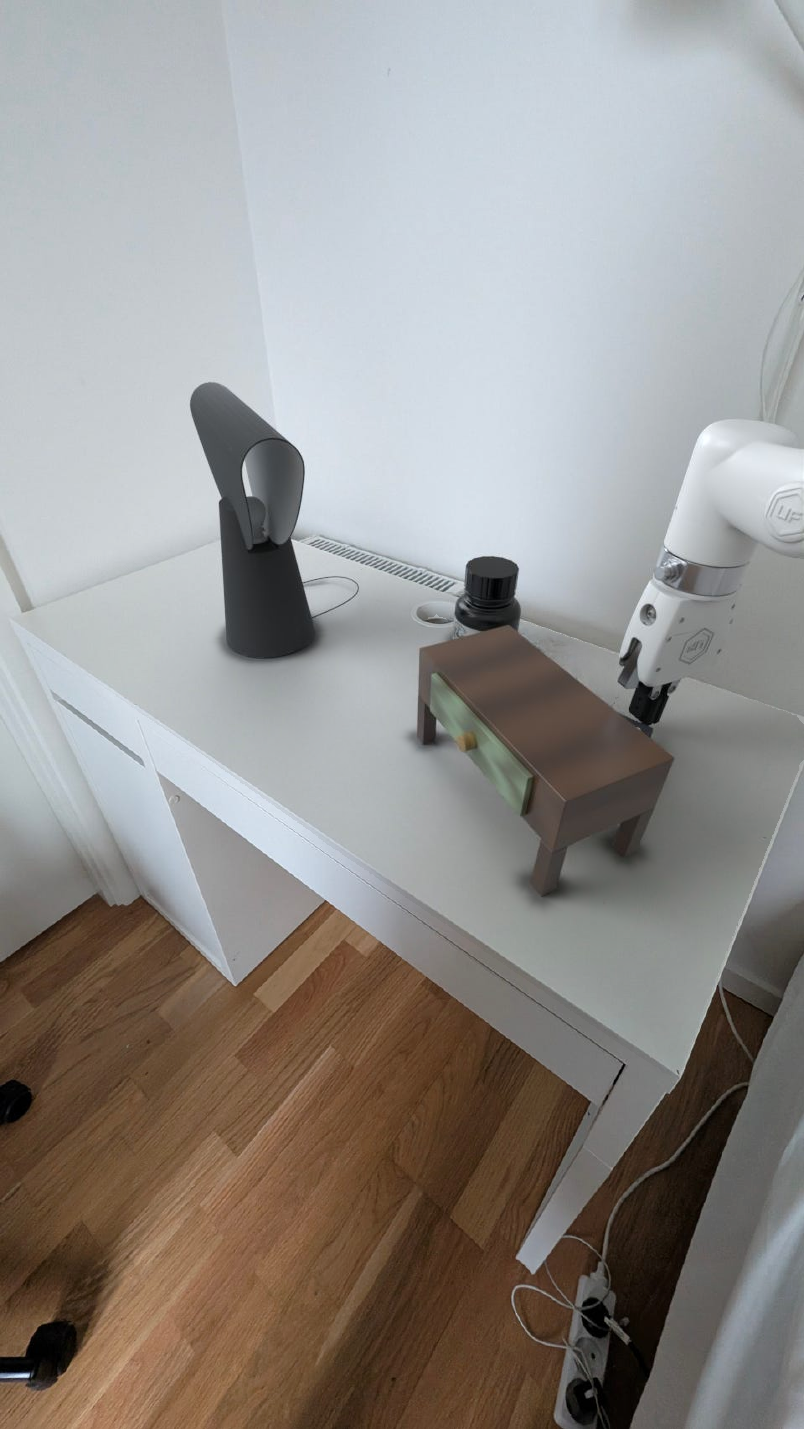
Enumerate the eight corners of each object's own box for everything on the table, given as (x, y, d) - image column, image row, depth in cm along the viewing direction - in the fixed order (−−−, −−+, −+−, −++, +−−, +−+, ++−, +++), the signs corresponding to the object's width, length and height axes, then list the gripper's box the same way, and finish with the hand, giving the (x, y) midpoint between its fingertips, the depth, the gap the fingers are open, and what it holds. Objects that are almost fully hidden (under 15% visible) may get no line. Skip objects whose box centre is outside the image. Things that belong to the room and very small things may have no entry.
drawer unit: (636, 851, 54) (675, 757, 46) (523, 904, 50) (546, 810, 42) (496, 710, 70) (508, 624, 63) (402, 740, 66) (403, 652, 59)
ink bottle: (441, 634, 84) (445, 556, 77) (495, 624, 87) (505, 547, 79) (470, 670, 77) (477, 588, 70) (528, 658, 80) (541, 577, 72)
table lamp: (124, 605, 91) (52, 389, 72) (265, 550, 108) (236, 364, 89) (292, 707, 71) (253, 445, 52) (433, 621, 87) (443, 398, 69)
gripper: (669, 602, 49) (613, 757, 61) (789, 571, 54) (716, 720, 66) (609, 565, 54) (569, 715, 66) (724, 540, 59) (667, 683, 71)
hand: (642, 717), depth 66 cm, fingers closed
